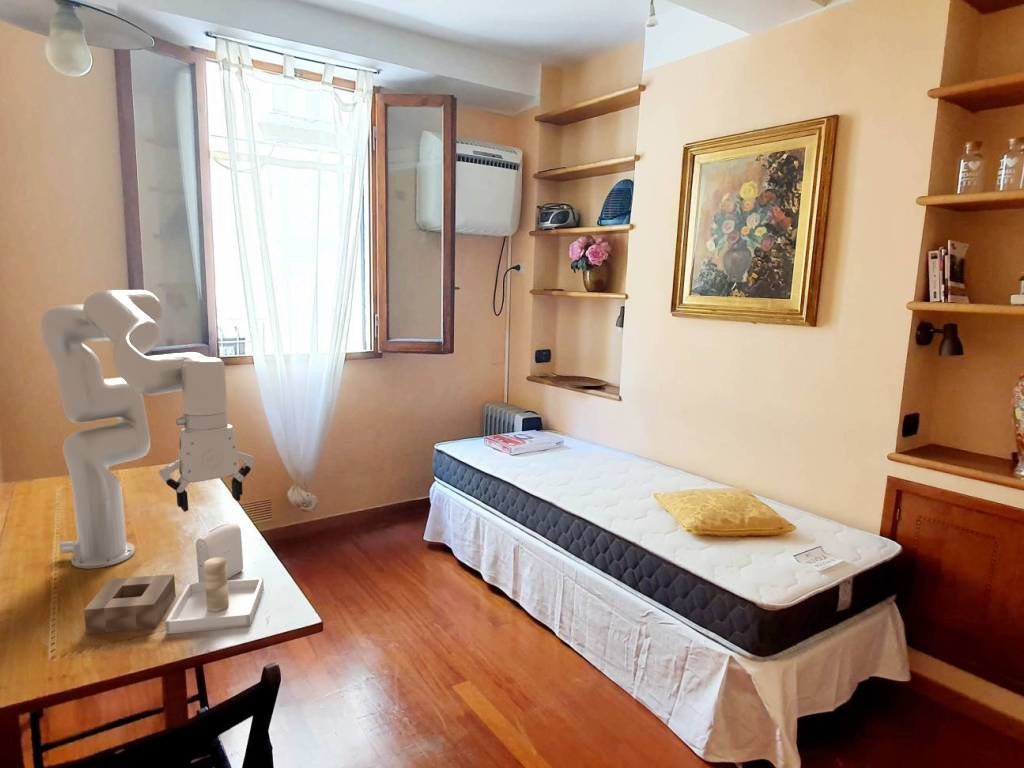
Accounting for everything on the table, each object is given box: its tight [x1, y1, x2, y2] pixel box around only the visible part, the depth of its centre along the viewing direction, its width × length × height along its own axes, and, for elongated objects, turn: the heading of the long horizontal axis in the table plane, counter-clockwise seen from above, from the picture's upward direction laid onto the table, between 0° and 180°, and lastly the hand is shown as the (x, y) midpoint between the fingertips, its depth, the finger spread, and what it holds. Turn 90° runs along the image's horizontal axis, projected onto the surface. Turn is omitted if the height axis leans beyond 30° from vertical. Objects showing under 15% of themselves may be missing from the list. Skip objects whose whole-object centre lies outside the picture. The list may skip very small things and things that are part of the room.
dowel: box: [204, 557, 229, 613], centre depth 125 cm, size 4×4×10 cm
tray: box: [164, 577, 265, 635], centre depth 125 cm, size 15×15×2 cm
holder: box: [83, 574, 177, 635], centre depth 123 cm, size 12×12×5 cm
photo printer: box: [195, 522, 244, 583], centre depth 137 cm, size 10×4×12 cm, turn 158°
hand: (211, 504), depth 123 cm, fingers open, 9 cm apart
